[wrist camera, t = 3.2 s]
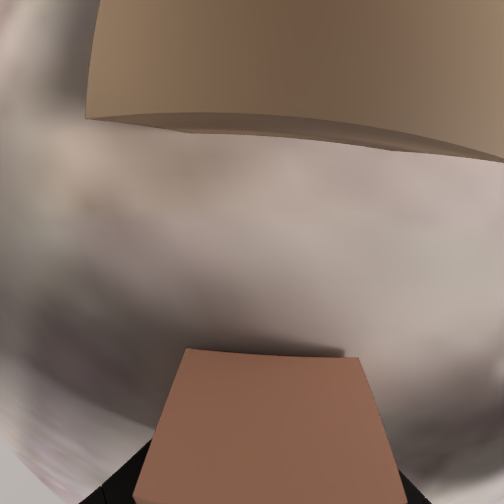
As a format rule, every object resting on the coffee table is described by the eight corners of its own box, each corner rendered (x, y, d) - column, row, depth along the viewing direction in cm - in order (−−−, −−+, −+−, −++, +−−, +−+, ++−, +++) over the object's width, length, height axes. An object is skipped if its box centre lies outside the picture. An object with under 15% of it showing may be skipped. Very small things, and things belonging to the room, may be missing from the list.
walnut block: (391, -15, 6) (477, -109, 1) (391, 151, 7) (529, 166, 3) (207, -34, 6) (158, -155, 1) (192, 133, 8) (84, 118, 3)
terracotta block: (358, 357, 9) (407, 502, 4) (326, 456, 10) (340, 568, 6) (186, 348, 9) (132, 495, 4) (194, 449, 10) (170, 561, 6)
